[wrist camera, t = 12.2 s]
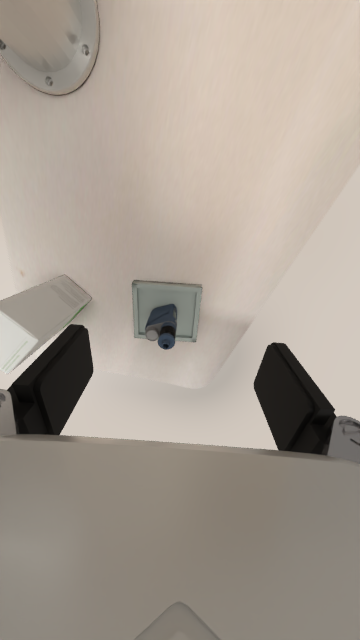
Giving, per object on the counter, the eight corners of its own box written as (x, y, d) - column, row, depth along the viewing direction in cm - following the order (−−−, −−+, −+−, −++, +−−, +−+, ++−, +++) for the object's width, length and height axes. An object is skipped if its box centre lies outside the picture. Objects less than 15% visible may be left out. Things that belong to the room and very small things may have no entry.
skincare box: (69, 323, 41) (7, 378, 27) (39, 300, 39) (-44, 346, 25) (94, 297, 38) (40, 343, 24) (64, 270, 36) (-15, 304, 22)
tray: (134, 280, 36) (131, 283, 35) (201, 284, 36) (202, 288, 35) (136, 333, 41) (134, 337, 40) (195, 337, 41) (195, 342, 40)
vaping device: (180, 314, 38) (177, 352, 27) (153, 320, 39) (141, 359, 28) (176, 301, 37) (171, 336, 26) (149, 308, 38) (134, 344, 27)
